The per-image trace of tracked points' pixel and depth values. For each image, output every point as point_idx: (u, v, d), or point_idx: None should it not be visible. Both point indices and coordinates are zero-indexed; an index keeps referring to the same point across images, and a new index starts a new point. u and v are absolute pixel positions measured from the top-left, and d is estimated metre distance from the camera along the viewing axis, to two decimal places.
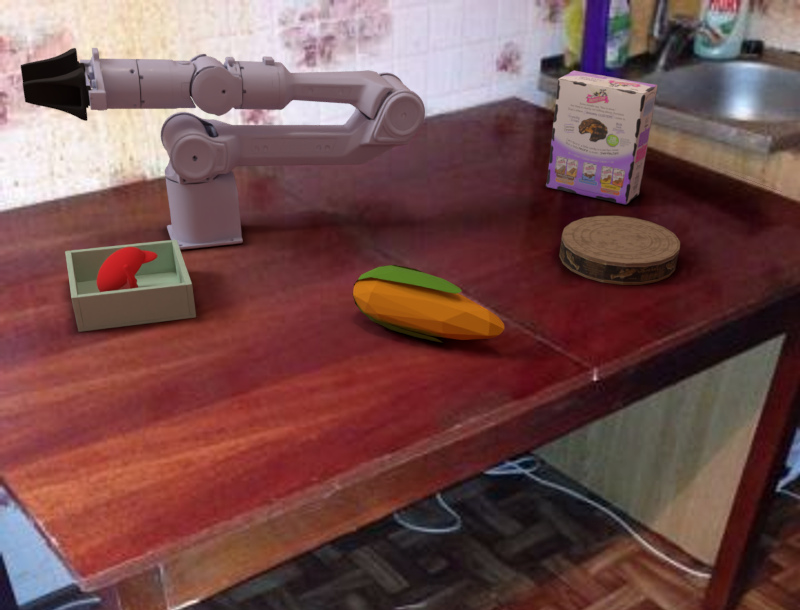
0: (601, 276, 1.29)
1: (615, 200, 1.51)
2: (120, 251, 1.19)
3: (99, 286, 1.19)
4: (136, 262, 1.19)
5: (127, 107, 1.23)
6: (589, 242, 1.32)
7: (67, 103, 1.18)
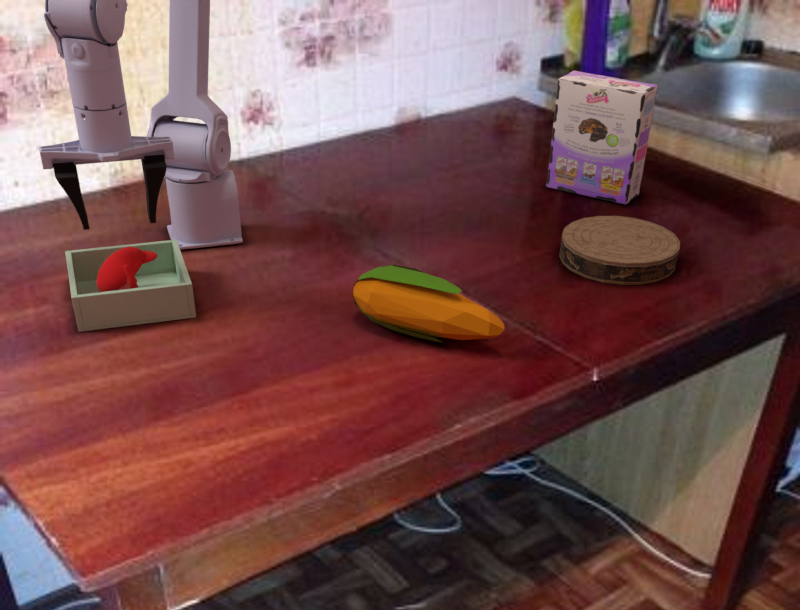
0: (601, 276, 1.29)
1: (615, 200, 1.51)
2: (120, 251, 1.19)
3: (99, 286, 1.19)
4: (136, 262, 1.19)
5: None
6: (589, 242, 1.32)
7: None
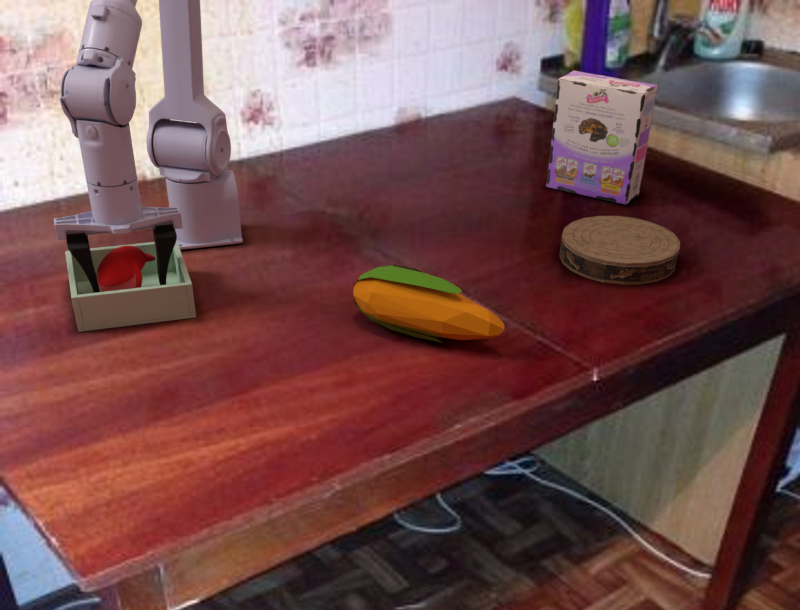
0: (601, 276, 1.29)
1: (615, 200, 1.51)
2: (123, 247, 1.19)
3: (103, 279, 1.18)
4: (141, 259, 1.20)
5: None
6: (589, 242, 1.32)
7: None
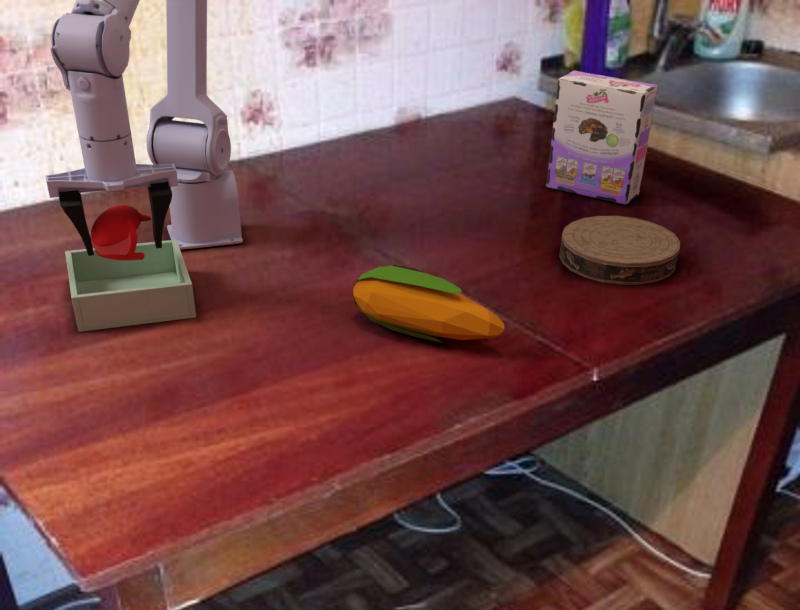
0: (601, 276, 1.29)
1: (615, 200, 1.51)
2: (118, 207, 1.16)
3: (97, 238, 1.15)
4: (136, 218, 1.16)
5: None
6: (589, 242, 1.32)
7: None
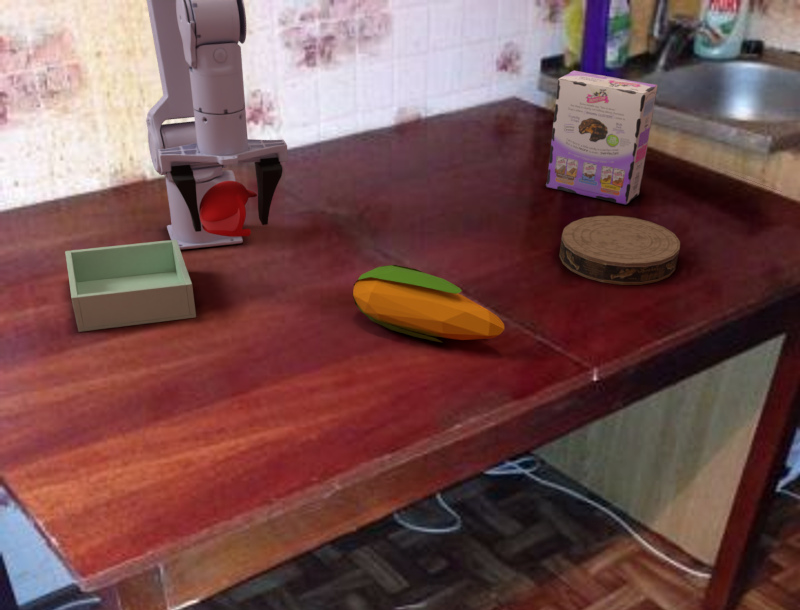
0: (601, 276, 1.29)
1: (615, 200, 1.51)
2: (226, 182, 1.16)
3: (207, 214, 1.14)
4: (245, 194, 1.16)
5: None
6: (589, 242, 1.32)
7: None
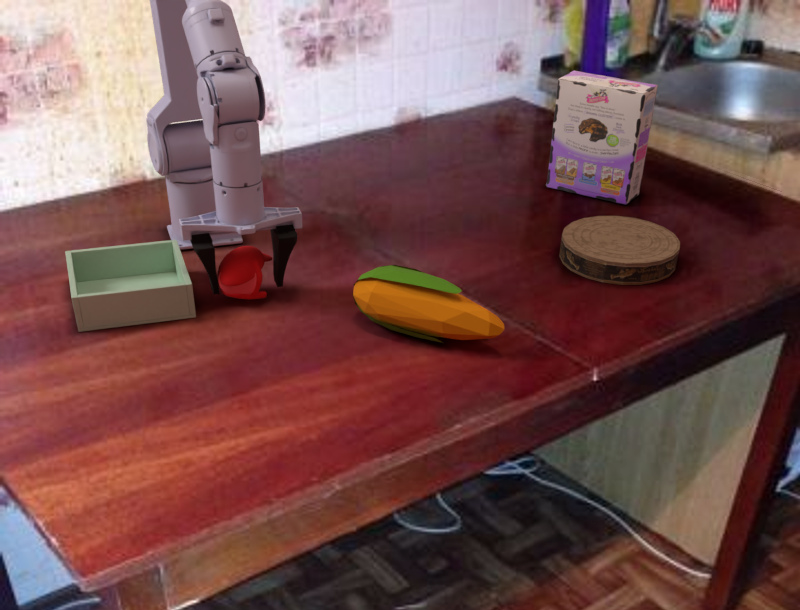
0: (601, 276, 1.29)
1: (615, 200, 1.51)
2: (243, 248, 1.21)
3: (225, 279, 1.19)
4: (261, 259, 1.21)
5: None
6: (589, 242, 1.32)
7: None
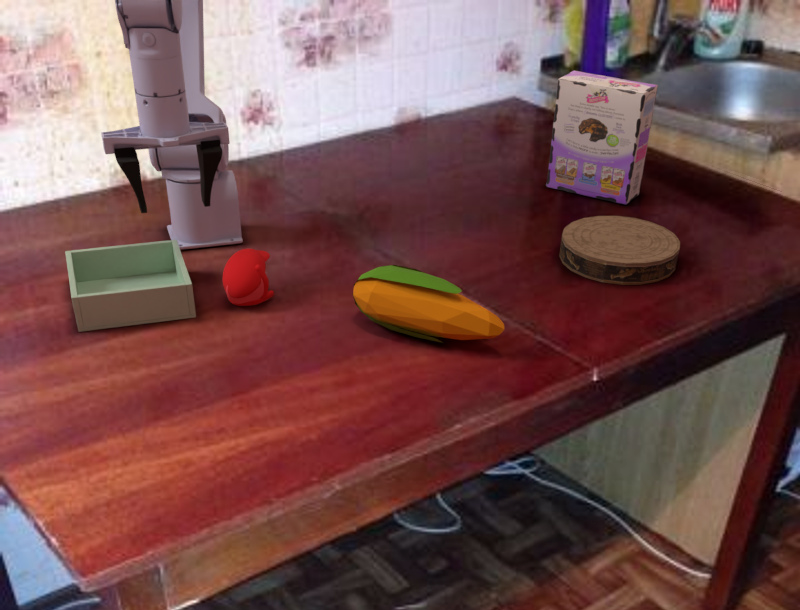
0: (601, 276, 1.29)
1: (615, 200, 1.51)
2: (242, 254, 1.20)
3: (234, 292, 1.20)
4: (262, 261, 1.21)
5: None
6: (589, 242, 1.32)
7: None
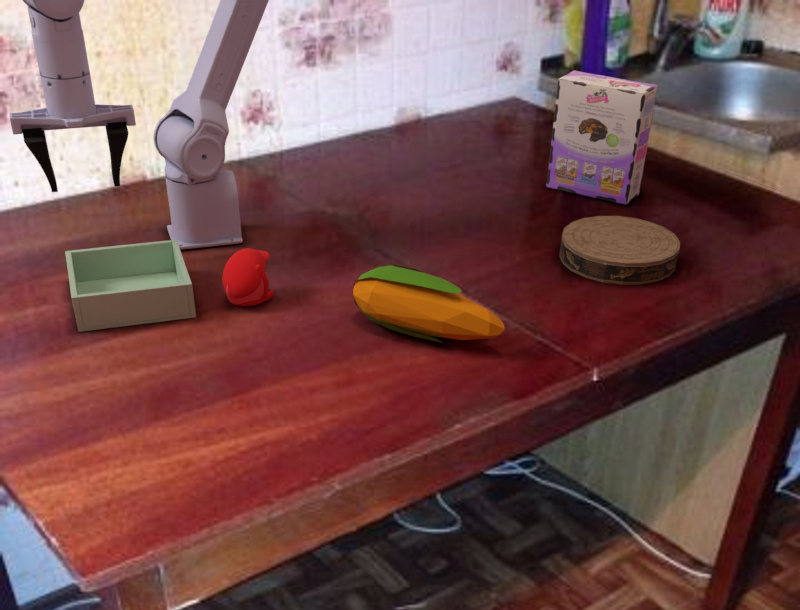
0: (601, 276, 1.29)
1: (615, 200, 1.51)
2: (242, 254, 1.20)
3: (234, 292, 1.20)
4: (262, 261, 1.21)
5: None
6: (589, 242, 1.32)
7: None
